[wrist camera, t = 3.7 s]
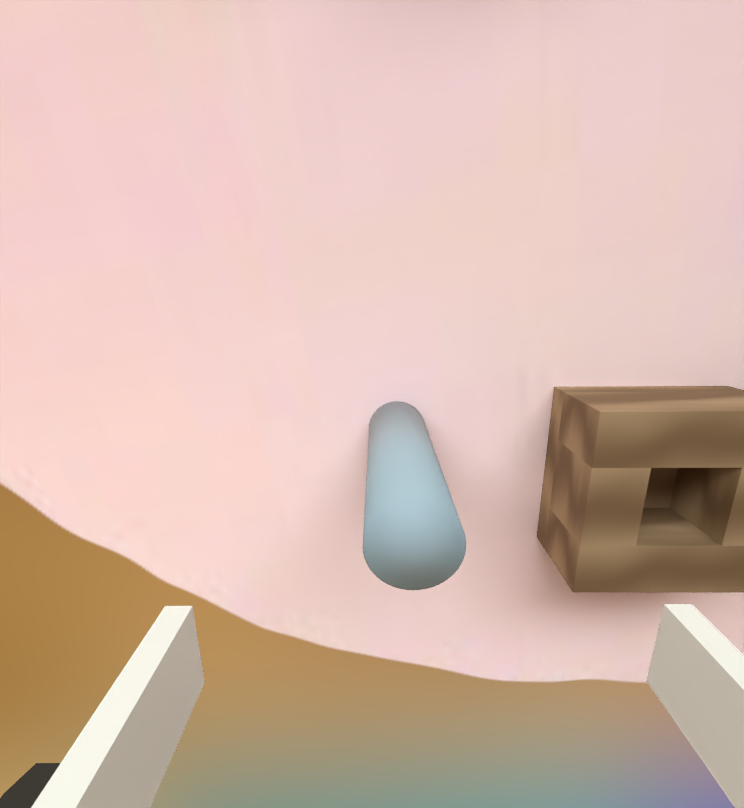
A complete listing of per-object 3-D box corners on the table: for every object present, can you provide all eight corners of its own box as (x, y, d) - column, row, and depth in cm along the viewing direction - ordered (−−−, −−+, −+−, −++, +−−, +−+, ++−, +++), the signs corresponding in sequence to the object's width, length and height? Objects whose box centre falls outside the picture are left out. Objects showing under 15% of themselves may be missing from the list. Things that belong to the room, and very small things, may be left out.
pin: (369, 401, 28) (362, 500, 15) (425, 401, 28) (468, 500, 15) (369, 453, 30) (363, 590, 16) (423, 453, 30) (463, 590, 16)
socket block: (554, 387, 28) (600, 411, 22) (727, 386, 28) (819, 410, 22) (536, 536, 31) (572, 592, 26) (691, 536, 31) (763, 592, 25)
